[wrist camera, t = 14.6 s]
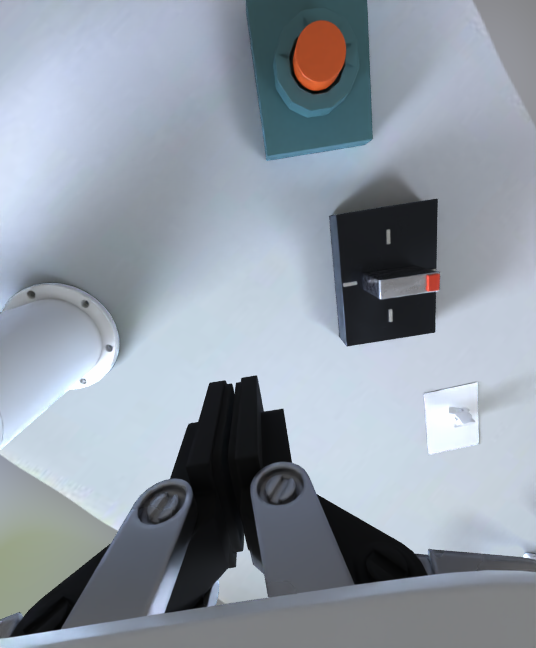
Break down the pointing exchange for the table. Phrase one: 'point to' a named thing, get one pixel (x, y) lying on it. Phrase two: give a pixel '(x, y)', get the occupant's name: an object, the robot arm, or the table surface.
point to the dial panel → (382, 254)
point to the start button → (319, 55)
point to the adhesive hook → (452, 418)
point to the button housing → (295, 100)
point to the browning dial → (401, 282)
